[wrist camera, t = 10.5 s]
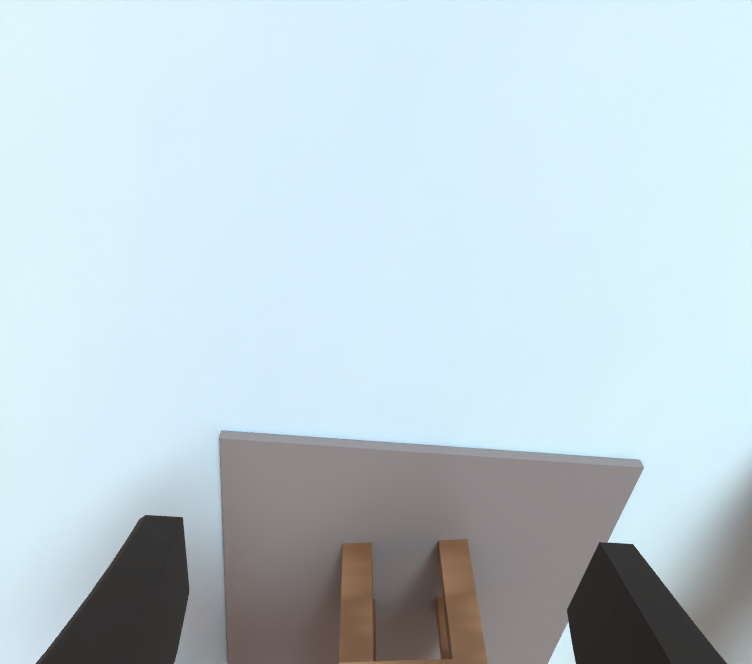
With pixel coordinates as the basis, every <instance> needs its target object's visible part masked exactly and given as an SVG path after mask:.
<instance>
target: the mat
mask: <svg viewBox="0 0 752 664" xmlns="http://www.w3.org/2000/svg"><path fill="white" fill-rule="evenodd" d="M219 440H220V467H221V494H222V521H223V547H224V574H225V601H226V628H227V654H228V664H339V645H340V614H341V584H342V553H343V543H370V542H372V559H373V599H375V612H376V661H402V660H433V659H441V656H440V646H439V636H438V627H437V617H436V600H437V597H442V589H441V580H440V571H439V562H438V545H439V540H458V539H468V545H469V551H470V558H471V564H472V570H473V576H474V582H475V588H476V594H477V600H478V607H479V613H480V619H481V625H482V631H483V637H484V643H485V649H486V656H487V662H488V664H548V662H549V659H550V657H551V655H552V653H553V651H554V649H555V647H556V645H557V643H558V641H559V639H560V637H561V635H562V633H563V631H564V629H565V627H566V625H567V623H568V615H567V608H568V606H569V604H570V602H571V600H572V598H573V596H574V594H575V592H576V590H577V588H578V586H579V583H580V581H581V579H582V577H583V575H584V573H585V571H586V569H587V567H588V565H589V563H590V561H591V559H592V556H593V554H594V552H595V550H596V548H597V546H598V544H599V542H604V543H607V542H608V540H609V538H610V536H611V534H612V531H613V529H614V527H615V525H616V523H617V521H618V519H619V517H620V515H621V513H622V511H623V509H624V507H625V505H626V503H627V501H628V499H629V497H630V495H631V493H632V491H633V489H634V487H635V485H636V483H637V481H638V479H639V477H640V475H641V473H642V471H643V468H644V467H643V465H642V463H641V461H640V460H632V459H618V458H603V457H589V456H575V455H561V454H546V453H532V452H518V451H503V450H489V449H475V448H461V447H446V446H432V445H418V444H404V443H389V442H375V441H361V440H346V439H332V438H318V437H304V436H289V435H275V434H261V433H246V432H232V431H221V434H220V438H219Z"/></svg>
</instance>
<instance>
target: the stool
mask: <svg viewBox="0 0 752 664" xmlns="http://www.w3.org/2000/svg"><path fill="white" fill-rule="evenodd" d="M438 562H439V571H440V580H441V589H442V597H437V600H436V617H437V627H438V636H439V646H440V656H441V659H433V660H402V661H376V612H375V599H373V559H372V542H370V543H343V553H342V584H341V614H340V645H339V664H488V662H487V656H486V649H485V643H484V637H483V631H482V625H481V619H480V613H479V607H478V600H477V594H476V588H475V582H474V576H473V570H472V564H471V558H470V551H469V545H468V539H458V540H439V545H438Z"/></svg>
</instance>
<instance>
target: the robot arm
mask: <svg viewBox="0 0 752 664" xmlns="http://www.w3.org/2000/svg"><path fill="white" fill-rule="evenodd" d="M188 595H189V581H188V570H187V559H186V548H185V537H184V526H183V517H168V516H151V515H145V516H144V517H142V518H141V519H139V521H138V522H137V524H136V526H135V527H134V529H133V531H132V532H131V534H130V535H129V537H128V539H127V540H126V542H125V543H124V545H123V546H122V548H121V549H120V551H119V552H118V554H117V555H116V557H115V558H114V560H113V561H112V563H111V564H110V566H109V567H108V569H107V570H106V571H105V573H104V574H103V576H102V577H101V578H100V580H99V581H98V583H97V584H96V586H95V587H94V588H93V590H92V591H91V593H90V594H89V595H88V597H87V598H86V599H85V601H84V602H83V603H82V605H81V606H80V607H79V609H78V610H77V611H76V613H75V614H74V615H73V617H72V618H71V619H70V621H69V622H68V623H67V625H66V626H65V627H64V629H63V630H62V631H61V633H60V634H59V635H58V637H57V638H56V639H55V640H54V642H53V643H52V644H51V646H50V647H49V648H48V649H47V651H46V652H45V653H44V654H43V655H42V657H41V658H40V659H39V660H38V661H37V663H36V664H174V661H175V657H176V654H177V650H178V645H179V640H180V635H181V630H182V626H183V621H184V615H185V610H186V605H187V600H188ZM567 615H568V621H569V627H570V633H571V639H572V645H573V650H574V655H575V661H576V664H727V663H726V662H725V661H724V660H723V658H722V657H721V656H720V655H719V653H718V652H717V651H716V650H715V649H714V647H713V646H712V645H711V644H710V642H709V641H708V640H707V639H706V637H705V636H704V635H703V634H702V632H701V631H700V630H699V629H698V627H697V626H696V625H695V624H694V622H693V621H692V620H691V618H690V617H689V616H688V615H687V613H686V612H685V611H684V610H683V608H682V607H681V606H680V604H679V603H678V602H677V601H676V599H675V598H674V597H673V595H672V594H671V593H670V591H669V590H668V589H667V588H666V586H665V585H664V584H663V582H662V581H661V580H660V578H659V577H658V576H657V575H656V573H655V572H654V571H653V569H652V568H651V567H650V566H649V564H648V563H647V562H646V560H645V559H644V558H643V557H642V555H641V554H640V553H639V551H638V550H637V549H636V548H635V546H634V545H633V544H621V543H604V542H599V544H598V546H597V548H596V550H595V552H594V554H593V556H592V559H591V561H590V563H589V565H588V567H587V569H586V571H585V573H584V575H583V577H582V579H581V581H580V583H579V586H578V588H577V590H576V592H575V594H574V596H573V598H572V600H571V602H570V604H569V606H568V608H567Z"/></svg>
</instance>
